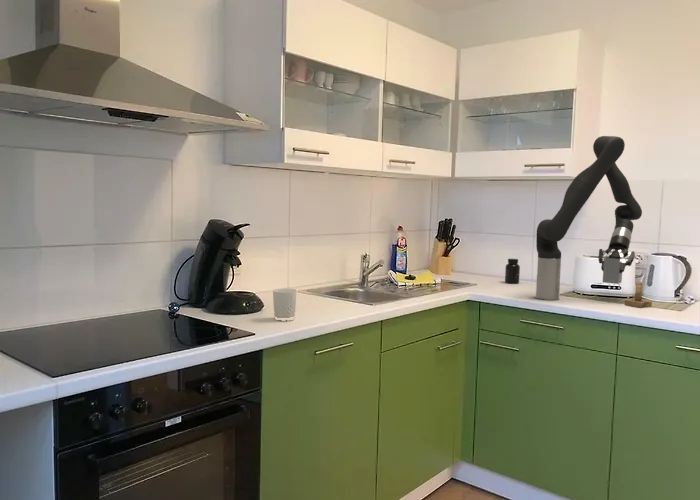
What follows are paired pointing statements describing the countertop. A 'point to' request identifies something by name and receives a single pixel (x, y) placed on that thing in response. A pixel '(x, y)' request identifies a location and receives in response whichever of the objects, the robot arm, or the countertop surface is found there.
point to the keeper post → (638, 298)
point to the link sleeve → (612, 270)
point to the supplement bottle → (512, 272)
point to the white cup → (284, 303)
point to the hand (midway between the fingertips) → (612, 270)
